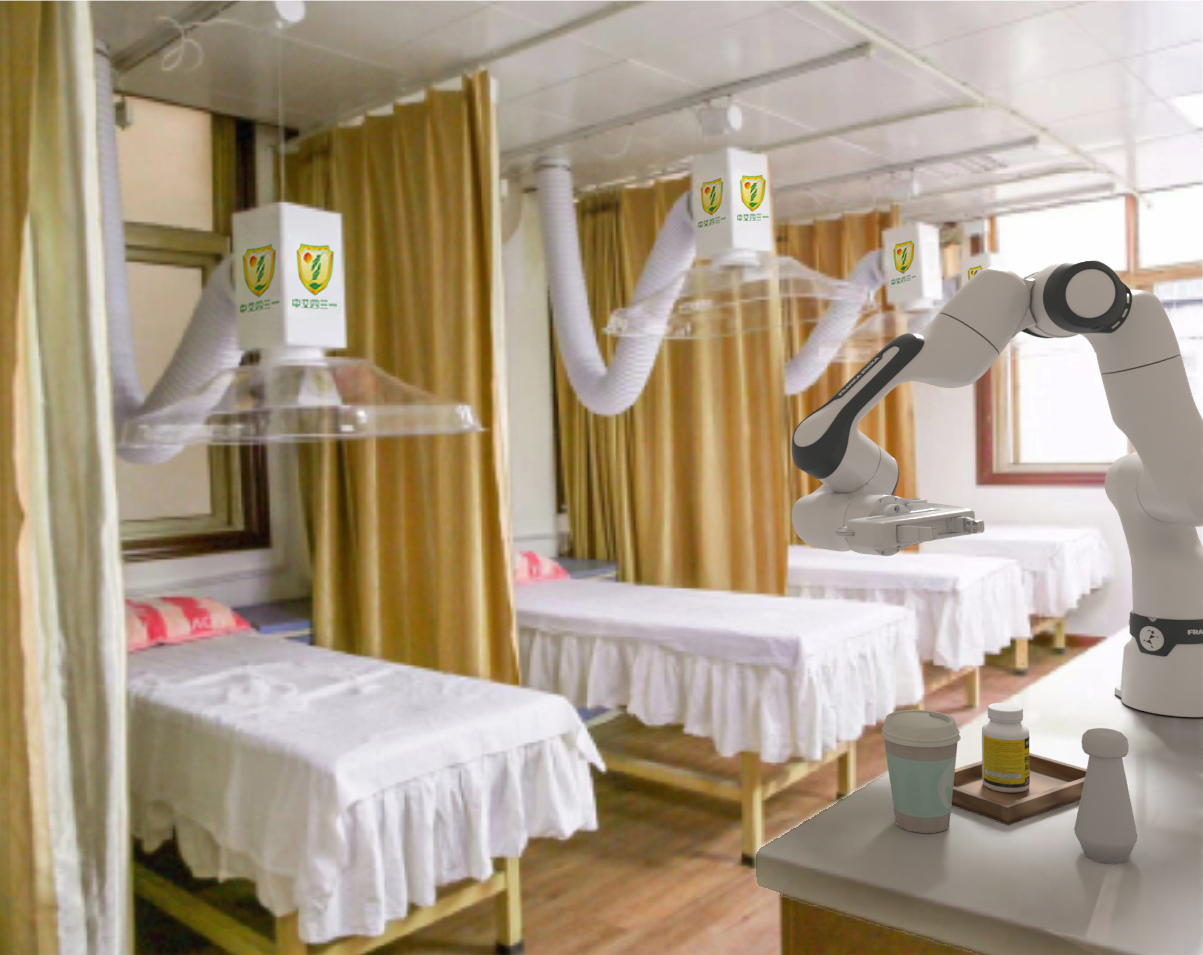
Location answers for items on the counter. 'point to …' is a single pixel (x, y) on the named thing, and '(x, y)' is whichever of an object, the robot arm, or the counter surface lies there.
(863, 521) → the robot arm
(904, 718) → the coffee cup
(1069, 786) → the tray
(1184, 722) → the counter surface
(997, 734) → the supplement bottle
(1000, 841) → the counter surface
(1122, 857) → the salt shaker
